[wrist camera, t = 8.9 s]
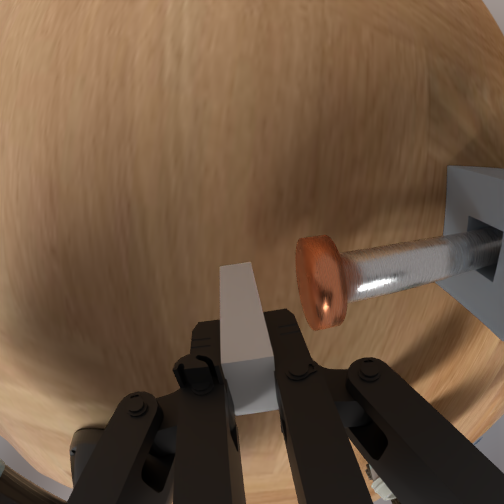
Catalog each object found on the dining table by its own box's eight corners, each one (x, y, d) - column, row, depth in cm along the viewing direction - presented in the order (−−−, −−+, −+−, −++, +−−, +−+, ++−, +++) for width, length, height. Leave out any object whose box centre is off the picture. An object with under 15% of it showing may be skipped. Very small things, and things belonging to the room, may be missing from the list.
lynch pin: (297, 299, 17) (320, 349, 13) (293, 226, 15) (321, 261, 11) (471, 260, 18) (509, 286, 13) (479, 205, 16) (522, 224, 12)
